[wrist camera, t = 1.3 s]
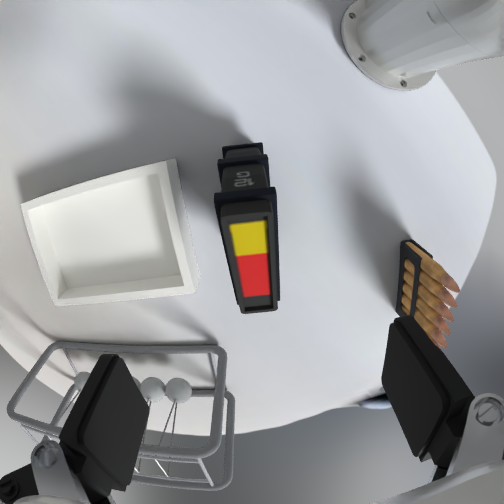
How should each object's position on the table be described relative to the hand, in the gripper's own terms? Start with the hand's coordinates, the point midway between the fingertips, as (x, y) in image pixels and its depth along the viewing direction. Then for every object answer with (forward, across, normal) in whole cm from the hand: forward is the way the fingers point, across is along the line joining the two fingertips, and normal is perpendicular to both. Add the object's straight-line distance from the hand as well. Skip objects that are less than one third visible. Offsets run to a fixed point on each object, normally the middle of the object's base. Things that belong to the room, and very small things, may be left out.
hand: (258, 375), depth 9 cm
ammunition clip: (+25, -19, +12) cm, 33 cm away
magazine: (+25, 0, 0) cm, 25 cm away
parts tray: (+24, +17, 0) cm, 30 cm away
